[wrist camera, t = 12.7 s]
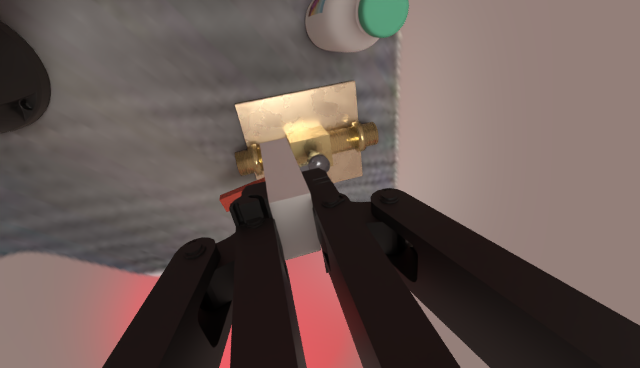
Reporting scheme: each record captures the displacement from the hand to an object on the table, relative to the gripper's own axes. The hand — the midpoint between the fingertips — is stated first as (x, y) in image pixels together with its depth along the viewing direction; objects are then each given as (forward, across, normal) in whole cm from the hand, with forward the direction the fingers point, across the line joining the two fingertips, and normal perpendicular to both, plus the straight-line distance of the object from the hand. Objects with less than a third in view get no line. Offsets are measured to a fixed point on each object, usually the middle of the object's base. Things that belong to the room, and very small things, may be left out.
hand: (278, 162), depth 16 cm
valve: (+32, +6, -11) cm, 35 cm away
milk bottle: (+33, +13, +7) cm, 36 cm away
